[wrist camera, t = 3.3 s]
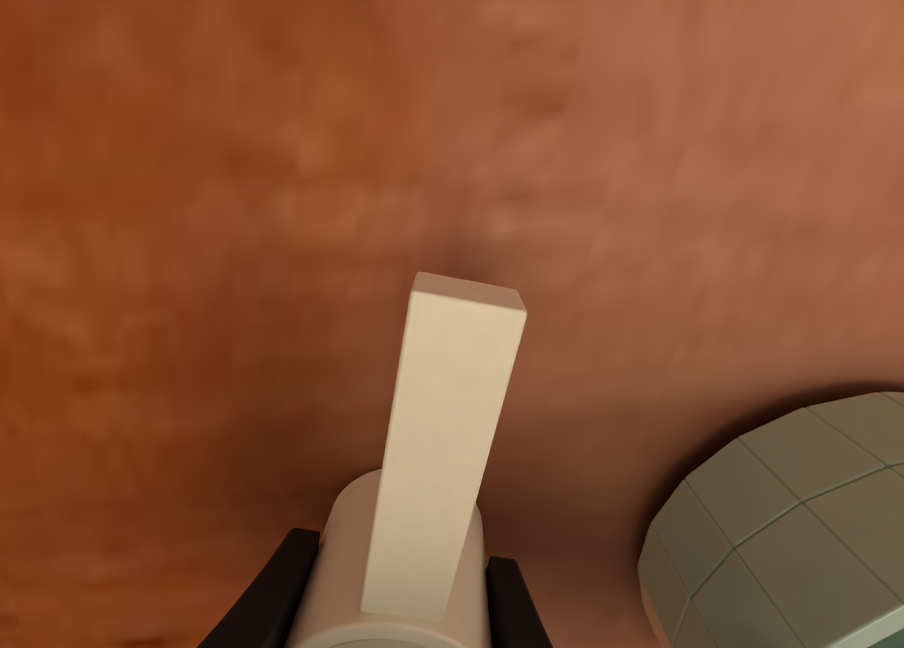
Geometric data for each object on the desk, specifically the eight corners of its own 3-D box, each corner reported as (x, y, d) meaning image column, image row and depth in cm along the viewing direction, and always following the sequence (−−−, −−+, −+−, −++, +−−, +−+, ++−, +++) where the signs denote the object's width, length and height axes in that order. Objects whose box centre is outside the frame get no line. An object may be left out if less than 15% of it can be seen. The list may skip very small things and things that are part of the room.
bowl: (1104, 453, 11) (1527, 647, 6) (837, 678, 14) (998, 898, 10) (774, 322, 9) (1035, 456, 5) (570, 605, 13) (626, 822, 9)
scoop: (465, 587, 13) (470, 770, 9) (325, 567, 12) (268, 748, 9) (561, 262, 9) (639, 337, 5) (363, 223, 9) (292, 274, 5)
